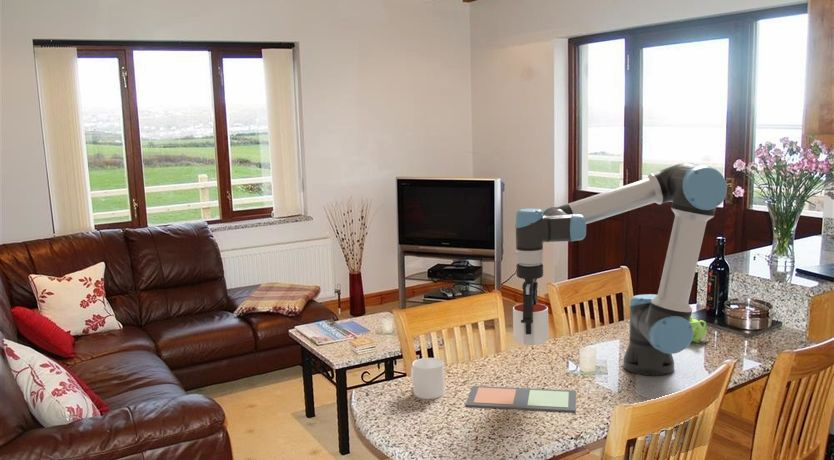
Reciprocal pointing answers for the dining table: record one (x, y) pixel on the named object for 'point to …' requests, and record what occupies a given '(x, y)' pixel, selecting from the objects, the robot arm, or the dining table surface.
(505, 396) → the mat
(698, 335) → the teapot
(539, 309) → the cup
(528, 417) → the dining table surface
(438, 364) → the mug
